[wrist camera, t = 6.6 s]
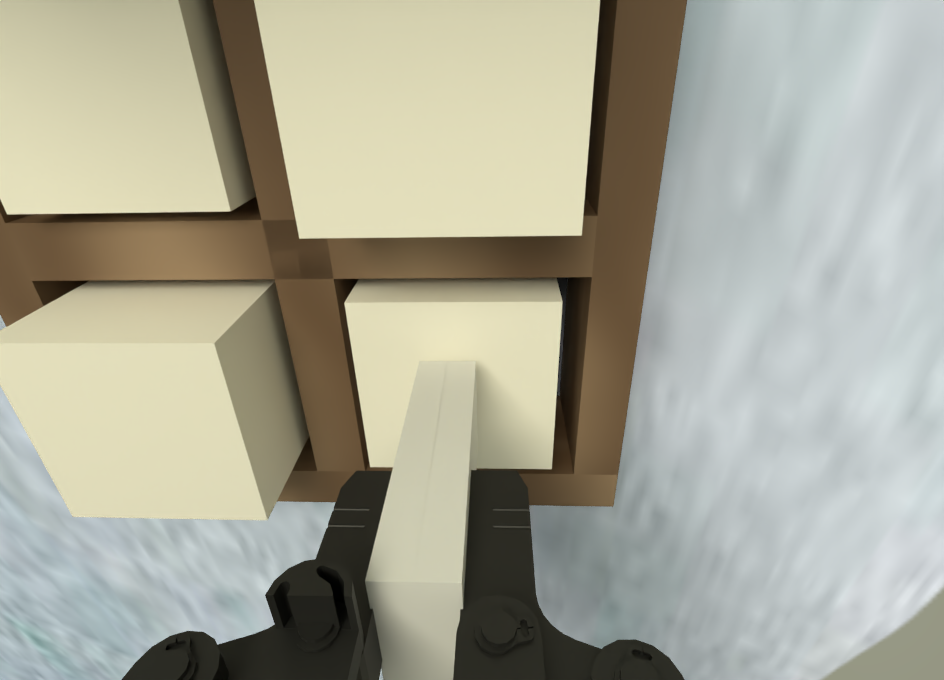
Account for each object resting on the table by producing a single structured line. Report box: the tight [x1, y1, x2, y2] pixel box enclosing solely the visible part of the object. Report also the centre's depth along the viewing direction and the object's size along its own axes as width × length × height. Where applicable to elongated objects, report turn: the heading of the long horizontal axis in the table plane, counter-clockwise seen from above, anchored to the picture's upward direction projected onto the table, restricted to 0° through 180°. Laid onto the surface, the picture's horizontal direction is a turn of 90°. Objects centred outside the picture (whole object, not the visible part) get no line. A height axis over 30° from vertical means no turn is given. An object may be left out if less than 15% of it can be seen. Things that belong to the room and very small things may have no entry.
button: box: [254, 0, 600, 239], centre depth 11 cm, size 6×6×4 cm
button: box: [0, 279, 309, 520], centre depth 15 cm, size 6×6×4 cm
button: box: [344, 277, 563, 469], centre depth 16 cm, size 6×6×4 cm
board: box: [0, 0, 687, 506], centre depth 15 cm, size 18×18×4 cm
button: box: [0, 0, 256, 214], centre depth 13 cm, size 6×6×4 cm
